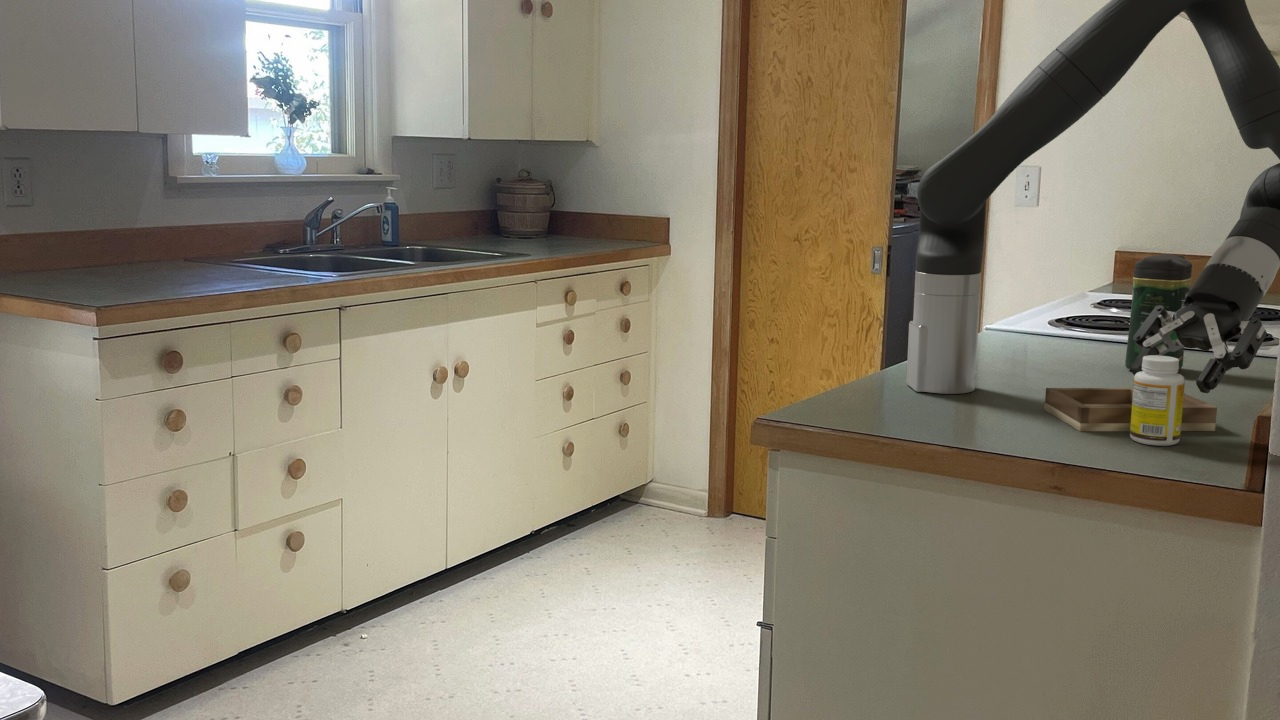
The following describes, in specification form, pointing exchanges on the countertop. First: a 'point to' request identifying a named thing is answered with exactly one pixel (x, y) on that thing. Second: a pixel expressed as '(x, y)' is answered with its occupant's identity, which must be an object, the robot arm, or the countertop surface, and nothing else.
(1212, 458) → the countertop surface
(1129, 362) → the coffee jar
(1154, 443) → the supplement bottle
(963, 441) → the countertop surface
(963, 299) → the robot arm
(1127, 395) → the shallow wooden tray
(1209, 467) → the countertop surface
